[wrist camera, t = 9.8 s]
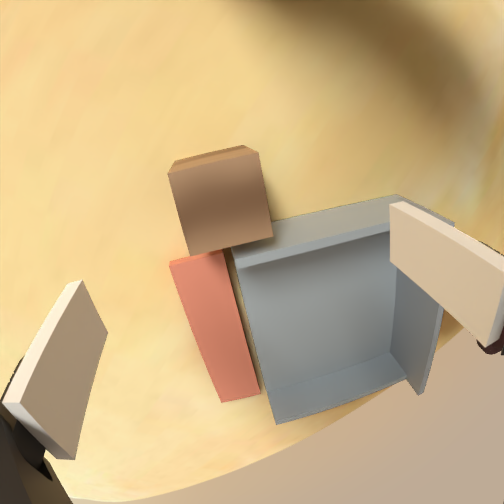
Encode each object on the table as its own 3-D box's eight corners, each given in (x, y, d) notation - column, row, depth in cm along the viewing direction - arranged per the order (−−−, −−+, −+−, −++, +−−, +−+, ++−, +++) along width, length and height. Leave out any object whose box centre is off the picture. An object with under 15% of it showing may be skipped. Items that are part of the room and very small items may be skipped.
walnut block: (174, 160, 26) (167, 173, 19) (243, 145, 26) (258, 152, 20) (191, 225, 28) (190, 256, 22) (255, 209, 29) (273, 236, 22)
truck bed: (227, 232, 29) (240, 280, 21) (396, 194, 30) (454, 222, 22) (266, 389, 38) (282, 446, 30) (390, 348, 40) (423, 392, 31)
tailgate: (221, 247, 29) (170, 259, 29) (222, 252, 28) (169, 266, 28) (258, 386, 38) (220, 395, 37) (260, 393, 36) (221, 402, 36)
